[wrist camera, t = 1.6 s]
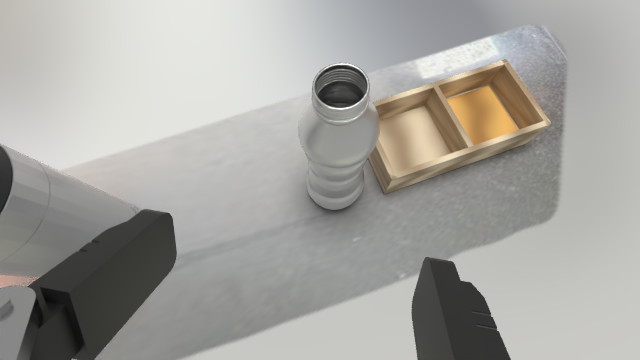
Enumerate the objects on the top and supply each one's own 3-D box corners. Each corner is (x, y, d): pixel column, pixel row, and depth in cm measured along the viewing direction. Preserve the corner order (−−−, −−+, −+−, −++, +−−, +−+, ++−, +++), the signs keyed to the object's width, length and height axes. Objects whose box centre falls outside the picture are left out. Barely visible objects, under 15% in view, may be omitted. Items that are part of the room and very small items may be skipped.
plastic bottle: (297, 182, 39) (268, 76, 20) (342, 154, 40) (354, 29, 22) (326, 225, 37) (324, 151, 19) (373, 194, 38) (415, 95, 20)
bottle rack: (384, 194, 38) (391, 180, 34) (354, 128, 42) (357, 107, 37) (527, 143, 40) (554, 122, 36) (488, 84, 43) (508, 58, 39)
